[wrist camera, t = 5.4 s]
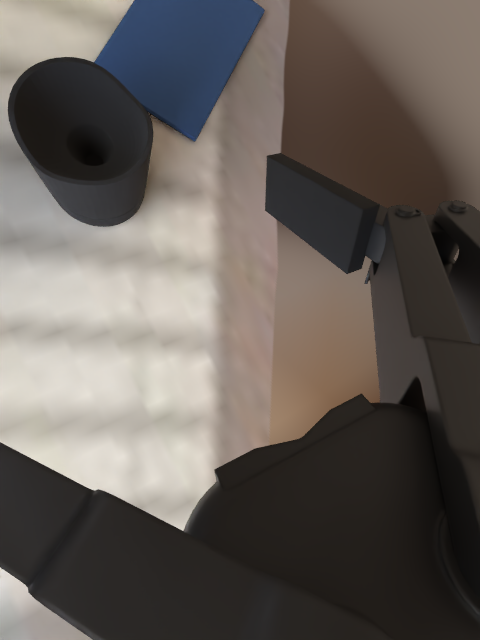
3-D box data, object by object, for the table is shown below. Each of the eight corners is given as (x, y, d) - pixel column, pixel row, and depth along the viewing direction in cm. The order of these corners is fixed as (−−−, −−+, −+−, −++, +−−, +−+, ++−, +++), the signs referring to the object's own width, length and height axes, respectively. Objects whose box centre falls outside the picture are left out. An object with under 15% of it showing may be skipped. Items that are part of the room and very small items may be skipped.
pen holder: (143, 144, 34) (146, 67, 25) (152, 231, 34) (159, 187, 24) (42, 137, 31) (1, 46, 22) (51, 232, 31) (14, 183, 21)
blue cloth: (89, 75, 33) (88, 70, 32) (174, -56, 37) (174, -63, 36) (194, 142, 36) (196, 138, 35) (263, 14, 40) (264, 9, 39)
